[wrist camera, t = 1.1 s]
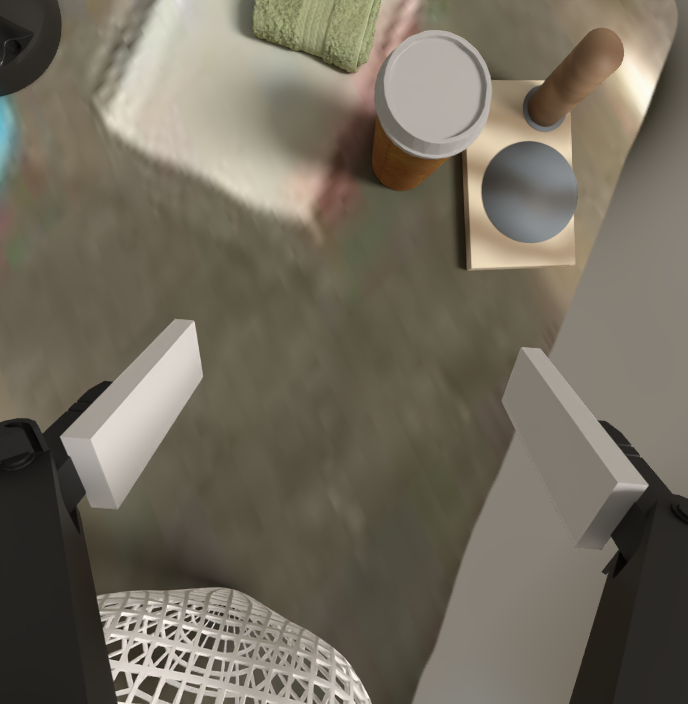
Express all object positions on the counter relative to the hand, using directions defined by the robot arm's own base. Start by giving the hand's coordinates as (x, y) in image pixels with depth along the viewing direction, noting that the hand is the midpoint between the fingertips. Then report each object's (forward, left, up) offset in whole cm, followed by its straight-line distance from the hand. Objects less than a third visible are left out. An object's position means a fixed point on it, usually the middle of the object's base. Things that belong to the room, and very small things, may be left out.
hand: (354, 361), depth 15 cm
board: (-18, +22, -25) cm, 38 cm away
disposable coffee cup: (-20, +9, -25) cm, 34 cm away
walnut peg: (-25, +25, -24) cm, 43 cm away
